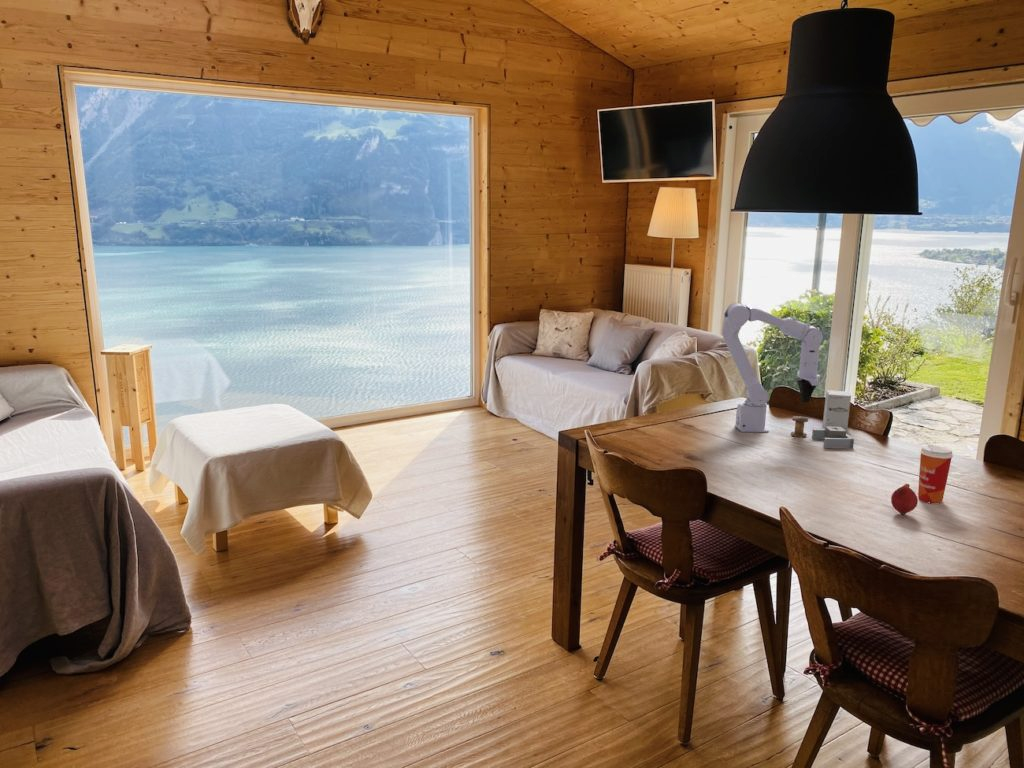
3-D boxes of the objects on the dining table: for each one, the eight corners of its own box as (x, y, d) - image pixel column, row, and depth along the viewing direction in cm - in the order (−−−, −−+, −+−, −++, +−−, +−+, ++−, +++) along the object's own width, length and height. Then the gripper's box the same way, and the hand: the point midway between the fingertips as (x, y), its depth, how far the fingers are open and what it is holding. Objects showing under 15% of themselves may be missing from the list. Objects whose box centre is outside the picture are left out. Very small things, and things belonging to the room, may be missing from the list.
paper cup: (908, 494, 204) (914, 443, 201) (937, 494, 204) (944, 444, 201) (922, 505, 197) (929, 453, 193) (953, 505, 196) (960, 453, 193)
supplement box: (824, 429, 264) (828, 394, 261) (822, 424, 271) (826, 389, 268) (847, 431, 262) (851, 395, 259) (845, 426, 269) (848, 391, 266)
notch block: (824, 447, 244) (825, 438, 243) (811, 437, 255) (812, 429, 254) (853, 448, 244) (854, 439, 243) (839, 438, 254) (840, 429, 254)
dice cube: (839, 441, 251) (841, 426, 250) (844, 446, 246) (846, 431, 245) (823, 441, 251) (825, 426, 250) (828, 445, 247) (830, 430, 246)
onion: (903, 520, 187) (907, 489, 185) (884, 511, 192) (887, 481, 190) (920, 516, 189) (924, 486, 187) (900, 508, 194) (904, 478, 193)
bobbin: (793, 437, 255) (795, 420, 253) (788, 433, 259) (790, 416, 258) (808, 437, 255) (810, 420, 253) (803, 433, 259) (805, 416, 258)
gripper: (829, 366, 249) (825, 407, 252) (813, 358, 264) (809, 396, 267) (807, 366, 249) (803, 407, 252) (792, 358, 264) (788, 396, 267)
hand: (805, 401), depth 260 cm, fingers closed
